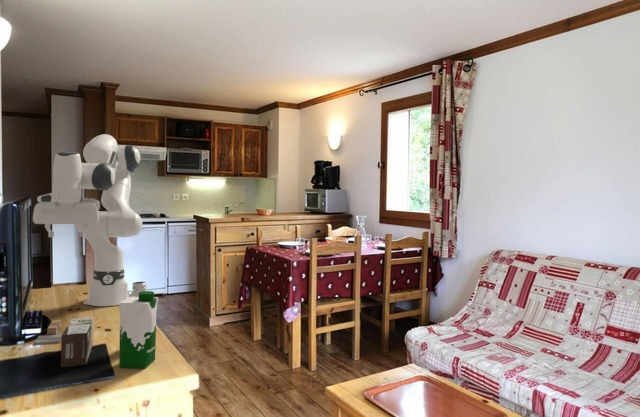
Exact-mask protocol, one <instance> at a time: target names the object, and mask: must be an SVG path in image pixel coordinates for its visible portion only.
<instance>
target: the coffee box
mask: <svg viewBox="0 0 640 417" xmlns="http://www.w3.org/2000/svg"><path fill="white" fill-rule="evenodd" d="M94 320H95V319H94V317H92V316H91V317H80V318H79V317H77V318H76V317H75V318H71V319H70V321H69V322H68V324H67V325H66V327H65V329H64V331H63V332H62V333H61V334H62V336H61V345H60V346H61V350H60V367H61V368H67V367H76V366H85V365H86V364H87V363H88V360H89V357H90V353H91V352H92V347H93V346H94V323H95V321H94Z"/></svg>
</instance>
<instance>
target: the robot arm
mask: <svg viewBox="0 0 640 417" xmlns="http://www.w3.org/2000/svg"><path fill="white" fill-rule="evenodd" d="M82 150H83V151H82V153H83V154H82V155H83V158H84V160H85V162H82V159H81V154H80V153H79V152H76V151H59V152H57V153H55V156H54V160H53V167H52V177H53V186H52V192H47V193H46V194H41V195H39V196H37V202H38V203H36V204H35V205H34V208H33V214H32V222H33V223H34V225H35V224H36V225H44V228H45V230H46V231H47V233H48V234H47V235H48V236H47V237H48V238H54V237H55V231H52V230H51V228H50V227H51V225H75V228H76V230H77V232H78V234H79V235H78V237H79V238H85V239H86V240H87V241H88V243H89V244H90V246H91V249H92V251H93V259H94V270H93V272H92V276H93V278H92V279H93V280H92V281H91V282H90V283H89V286H88V298H87V299H85V300H83V305H88V306H93V307H114V306H119V302H121V301H123V300H125V299H128V298H129V296H130V294H128V293H129V290H128V289H129V288H128V284H129V283H128V282H127V281H126V280H125V279H124V278H125V269H124V252H123V249H122V248H120V247H119V246H117V245H115V244H112V242H110V240H109V238H131V237H135V236H138V235H139V234H140V233H141V231H142V230H143V219H142V218H141V216H140V215H139V214H138V213H136V212H135V211H134V210H132V208H131V207H130V196H131V189H132V186H131V185H132V179H131V178H132V177H131V175H130V173H134V172H135V170H136V169H137V168H138V167H139V166H140V163H141V152H140V151H139V149H138V148H137V147H136V146H135V145H132V144H131V145H130V144H127V145H118V142H117V140H116V138H114V136H112V135H110V134H108V133H107V134H106V133H104V134H100V135H97V136H95V137H93V138H91V139H90V140H89V142H87V143H86V144H85V145H84V148H83V149H82ZM85 189H86V190H97V191H98V190H99V191H102V194H101V198H100V201H99V200H98V199H96V198H93V197H92V198H87V197H82V194H83V192H82V190H85ZM101 205H102V207H103V208H105V209H106V211H104V210H101V211H100V209H101Z"/></svg>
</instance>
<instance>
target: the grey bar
mask: <svg viewBox="0 0 640 417" xmlns="http://www.w3.org/2000/svg"><path fill="white" fill-rule="evenodd" d="M61 329H62V319H53V320H52V321H51V322H50V324H49V325H48V327H47V330H46V332H47V333H46V334H43V335H38V336H37V338H36V340H35V341H34V342H33V345H34V346H37V345H49V344H52V345H53V344H60V343H61V336H62V334H63V333H61V334H59V333H60V331H61Z"/></svg>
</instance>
